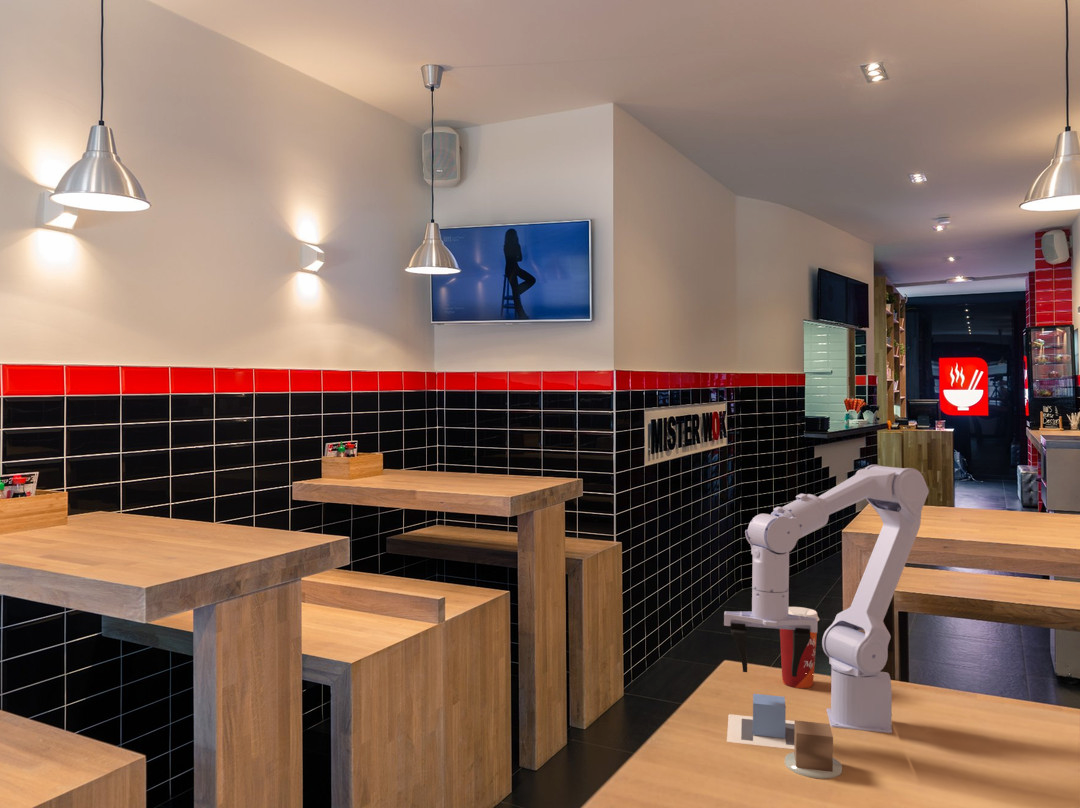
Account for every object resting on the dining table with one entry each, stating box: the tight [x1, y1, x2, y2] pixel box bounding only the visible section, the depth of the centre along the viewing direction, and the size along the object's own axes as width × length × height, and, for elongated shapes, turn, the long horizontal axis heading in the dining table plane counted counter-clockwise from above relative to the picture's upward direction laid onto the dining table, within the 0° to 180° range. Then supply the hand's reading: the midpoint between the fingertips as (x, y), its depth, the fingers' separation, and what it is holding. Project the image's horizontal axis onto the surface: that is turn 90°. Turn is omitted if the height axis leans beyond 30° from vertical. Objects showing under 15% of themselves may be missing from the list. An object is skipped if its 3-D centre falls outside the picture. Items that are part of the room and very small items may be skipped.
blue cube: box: [752, 693, 787, 738], centre depth 133 cm, size 5×5×5 cm
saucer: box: [784, 752, 843, 780], centre depth 120 cm, size 8×8×1 cm
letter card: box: [726, 713, 795, 750], centre depth 132 cm, size 13×12×1 cm
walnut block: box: [793, 720, 834, 772], centre depth 120 cm, size 5×5×5 cm
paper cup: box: [779, 606, 820, 689], centre depth 157 cm, size 8×8×14 cm
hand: (769, 672), depth 132 cm, fingers open, 7 cm apart
